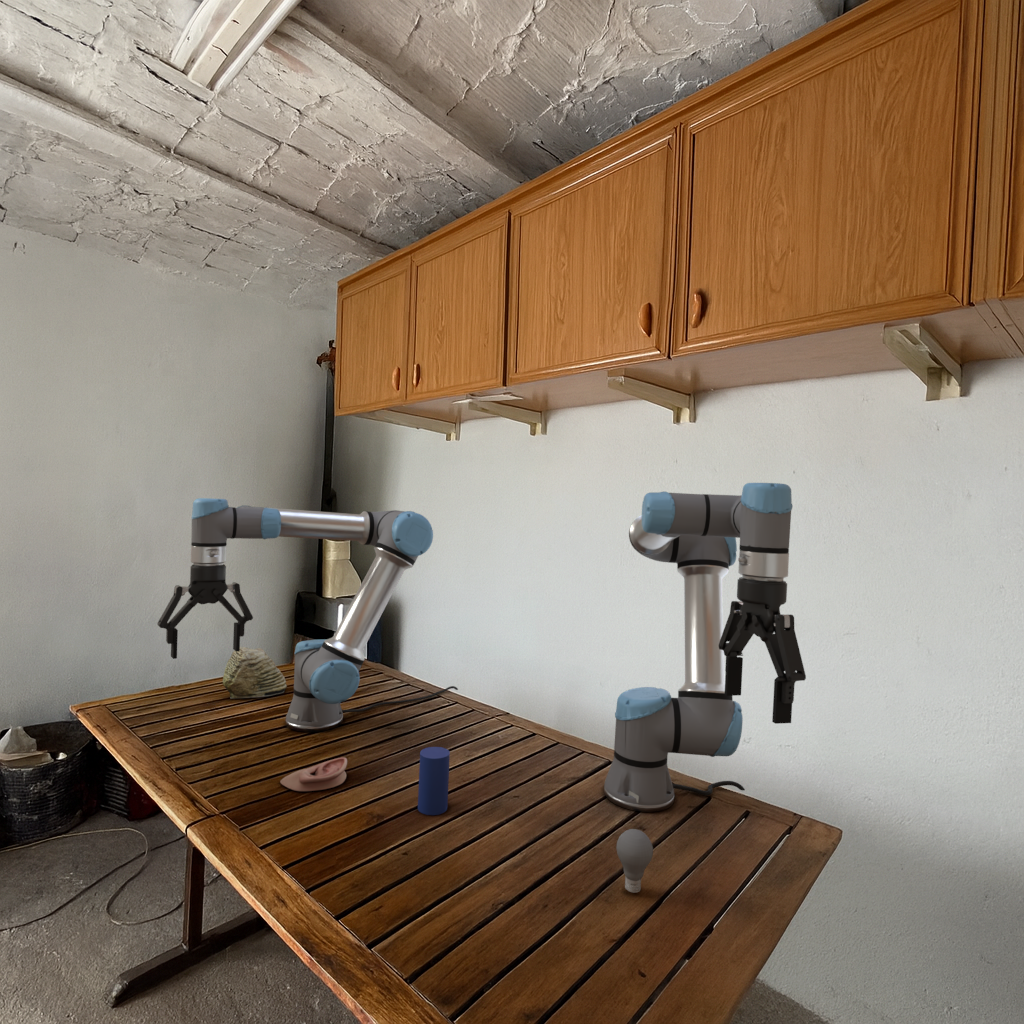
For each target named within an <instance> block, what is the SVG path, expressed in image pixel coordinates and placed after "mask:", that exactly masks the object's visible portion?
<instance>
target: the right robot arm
mask: <svg viewBox="0 0 1024 1024" xmlns="http://www.w3.org/2000/svg"><path fill="white" fill-rule="evenodd" d="M642 500H643V501H642V505H641V514H640V515H639V516H636V518H635V519H634V520H633V521H632V523H631V524H630V526H629V530H628V539H629V542H630V544H631V546H632V548H633V549H634V550H635V551H636V552H637V553H638V554H640V555H641V556H643V557H645V558H648V559H649V560H653V561H656V562H659V563H660V562H661V563H671V564H676V565H677V566H676V567H677V569H676V570H677V573H678V574H679V575H680V576H681V577H682V578H683V600H684V602H683V605H684V606H683V608H684V609H683V610H684V611H683V612H684V613H683V614H684V683H683V684H682V685H681V686H680V687H679V688H678V689H677V697H672V695H671V693H670V692H669V691H668V690H666V689H664V688H658V687H656V686H655V687H653V686H641V687H634V688H630V689H627V690H625V691H623V692H621V693H620V694H619V695H618V697H617V700H616V708H615V712H614V718H615V726H614V727H615V728H614V729H615V730H614V745H613V746H614V747H613V759H612V760H611V764H610V767H609V769H608V772H607V774H606V776H605V779H604V783H603V794H604V797H606V798H607V799H608V801H610V802H611V803H613V804H614V805H617V806H618V807H621V808H623V809H626V810H630V811H634V812H643V813H644V812H645V813H654V812H660V811H664V810H667V809H669V808H671V807H672V806H673V805H674V803H675V789H676V790H681V791H686V792H692V793H695V794H697V795H701V796H711V795H712V794H713V792H714V791H713V789H716V788H719V787H723V786H733V787H736V788H737V789H738V790H740V791H745V790H746V789H745V787H744V786H743V785H742V784H740V783H739V782H737V781H733V780H720V781H717V782H712V783H710V784H711V785H710V784H708V786H707V790H703V789H699V788H696V787H693V786H687V785H682V784H679V783H673V781H672V777H671V773H670V770H669V767H668V756H669V754H680V755H681V754H682V755H693V756H694V755H695V756H708V757H711V758H715V757H731V756H732V755H734V753H736V751H737V749H738V747H739V745H740V742H741V739H742V732H743V720H744V719H743V718H744V717H743V713H742V711H743V709H742V705H741V704H740V703H739V702H737V701H736V700H733V696H742V684H743V683H742V681H743V665H744V664H743V662H744V658H743V656H744V654H743V651H744V649H745V647H746V646H747V645H748V643H749V642H750V640H751V639H752V637H753V635H755V636H756V637H759V639H760V641H761V642H763V643H764V644H765V647H766V650H767V652H768V654H769V657H770V660H771V663H772V665H773V667H774V670H775V673H776V675H777V676H776V678H774V681H773V699H772V700H773V701H772V721H771V722H772V723H773V724H792V714H793V713H792V712H793V703H794V702H795V701H794V700H795V697H794V696H795V685H796V682H801V681H806V679H807V675H806V671H805V667H804V663H803V659H802V654H801V651H800V647H799V643H798V637H797V635H796V630H795V616H794V615H793V614H781V606H782V605H784V604H786V603H787V598H788V597H787V596H788V583H787V581H785V579H787V578H788V577H789V566H790V565H789V562H790V553H789V552H790V549H789V548H790V539H791V537H790V536H791V535H790V534H791V522H792V520H791V519H792V510H793V501H792V489H791V487H790V486H789V485H788V484H786V483H779V482H778V483H777V482H747V483H745V484H744V485H743V487H742V491H741V495H738V494H737V495H735V494H711V493H709V494H707V493H682V492H667V491H659V492H657V491H654V492H652V491H651V492H647V493H646V494H645V495H644V496H643V499H642ZM737 539H739V547H738V546H737ZM738 549H739V555H738V556H739V557H738V559H737V551H738ZM736 560H738V569H737V570H738V574H739V575H741V576H740V577H739V578H738V579H737V585H736V599H737V600H732V601H731V603H730V607H729V608H730V609H729V614H728V617H727V619H726V623H725V625H724V602H723V601H724V600H723V597H724V595H723V579H724V578H725V576H727V575H728V574H729V573H730V572H729V569H730V568H729V567H731V566H733V565H735V563H736Z"/></svg>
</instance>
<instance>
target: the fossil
mask: <svg viewBox="0 0 1024 1024" xmlns="http://www.w3.org/2000/svg"><path fill="white" fill-rule="evenodd" d="M222 676H223V677H222V685H223V687H224V688H225V690H226V691H228V693H229V698H230V699H250V698H264V697H271V696H275V695H281V694H284V693H285V691H286V689H287V687H288V686H287V680H286V678H285V676H284V674H283V673H282V672H281V669H279V668H278V667H277V665H276V663H275V662H274V660H273V659H272V658H271V657H270V656H269V655H268V654H267V653H266V652H265V650H264V649H263V648H260V647H258V648H251V647H247V646H246V647H245V646H240V651H237V652H236V651H235V650H233V651H232V653H231V656H230V657H229V659H228V660H227V663H226V666H225V668H224V671H223V675H222Z"/></svg>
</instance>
